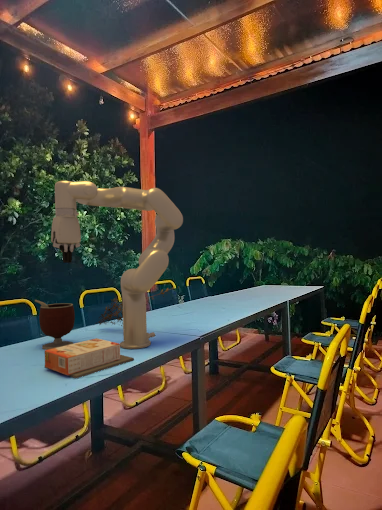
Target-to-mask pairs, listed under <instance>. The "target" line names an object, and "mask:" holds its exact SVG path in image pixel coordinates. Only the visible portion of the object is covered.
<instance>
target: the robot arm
mask: <svg viewBox="0 0 382 510" xmlns="http://www.w3.org/2000/svg"><path fill="white" fill-rule="evenodd" d="M54 203H55V204H54V206H55V217H53V218H52V222H51V223H52V224H51V232H50V233H51V234H50V236H51V238H50V241H51V243H52V247H54V248H57V249H58V250H60V253H61V255H62V256H61V257H62V261H63V264H65V263H68V264H69V263H72V260H73V252H74V251H75V249H76V248H79V247H81V239H82V237H81V226H80V221H79V219H78V216H79V215H80V213H79V212H78V211H77V204H78V203H79V204H81V205H83V206H84V205H86V206H93V207H107V208H108V207H109V208H121V209H128V210H129V209H131V210H136V211H137V210H138V211H146V212H149V211H150V212H151V211H154V212H155V213H156V214H157V215H156V216H155V219H154V225H155V229H156V233H155V237H154V238H153V239H152V241H151V242H150V243H149V244H148V246H146V248H145V249H144V250H143V252H142V253H141V254H140V255H139V257H138V265H139V266H137V268H129V269H127V270H125V271H124V272H123V274H121V275H122V276H121V277H120V289H121V296H122V298H121V299H123V300H122V302H123V308H122V309H123V313H122V314H123V317H122V320H123V321H122V322H123V324H122V327H123V330H122V331H123V335H122V336H123V340H122V341H121V342H119V344H120V348H122V349H127V350H130V349H131V350H132V349H134V350H137V349H142V348H147V347H150V346H151V344H152V343H151V342H152V341H151V340H149V339H151V338H154V337H155V336H156V333H155V332H148V328H147V326H148V325H147V305H146V304H147V302H146V301H147V299H146V298H147V296H146V293H148V292H149V291H150V290H151V289H152V288H153V287H154V285H156V283H157V282H158V280H159V279H160V278H161V276H162V275H163V274H164V272H165V271H167V268H168V266H169V264H170V263H169V262H170V261H169V259H170V258H169V255H168V254H169V252H170V251H171V250H172V248H173V246H174V243H175V239H176V237H175V230H177V229H179V228H180V227H182V225H183V223H184V216H183V214H182V213H181V211H180V209H179V208H178V207H177V206H176V204H175V203H174V202H173V201H172V200H171V199H170V198H169V197H168V195H167V193H165V192H164V191H163V190H162V189H160V188H159V187H152V188H149V189H141V188H134V187H128V186H127V187H126V186H115V187H112V188H111V187H110V188H98V187H97V185H96V184H95V183H94V182H91V181H89V180H87V181H86V180H85V181H84V180H83V181H70V180H59V181H56V182H55V184H54ZM145 296H146V297H145Z"/></svg>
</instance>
